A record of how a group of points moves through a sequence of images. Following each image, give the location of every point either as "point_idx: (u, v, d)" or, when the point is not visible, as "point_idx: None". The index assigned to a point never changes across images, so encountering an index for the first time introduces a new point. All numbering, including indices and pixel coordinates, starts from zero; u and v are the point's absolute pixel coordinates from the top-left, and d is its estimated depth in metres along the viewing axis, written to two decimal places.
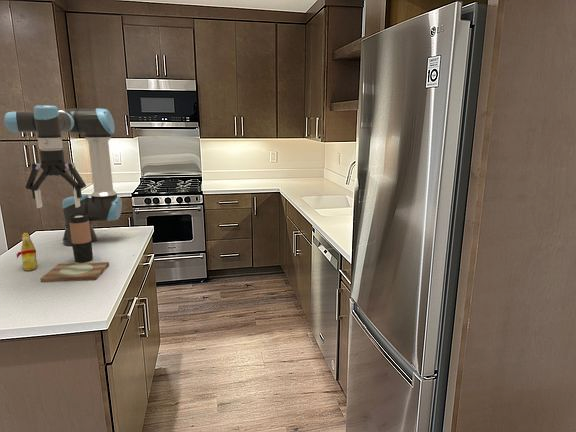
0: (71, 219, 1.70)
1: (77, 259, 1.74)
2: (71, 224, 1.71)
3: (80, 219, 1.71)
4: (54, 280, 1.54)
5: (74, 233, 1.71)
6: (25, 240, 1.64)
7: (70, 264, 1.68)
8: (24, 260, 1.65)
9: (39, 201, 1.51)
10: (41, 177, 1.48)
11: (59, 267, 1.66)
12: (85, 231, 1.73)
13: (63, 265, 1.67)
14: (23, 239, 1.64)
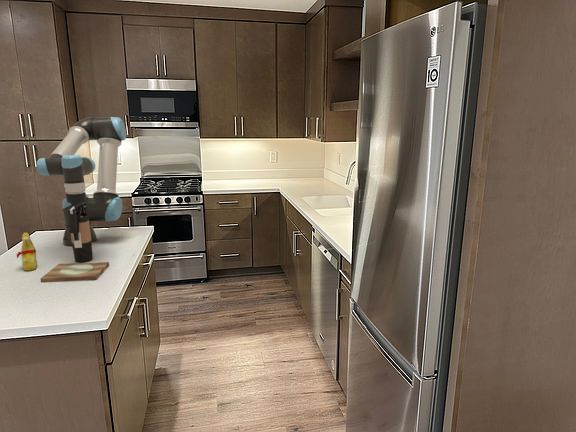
0: None
1: (77, 259, 1.74)
2: None
3: (80, 219, 1.71)
4: (54, 280, 1.54)
5: None
6: (25, 240, 1.64)
7: (70, 264, 1.68)
8: (24, 260, 1.65)
9: None
10: None
11: (59, 267, 1.66)
12: (85, 231, 1.73)
13: (63, 265, 1.67)
14: (23, 239, 1.64)
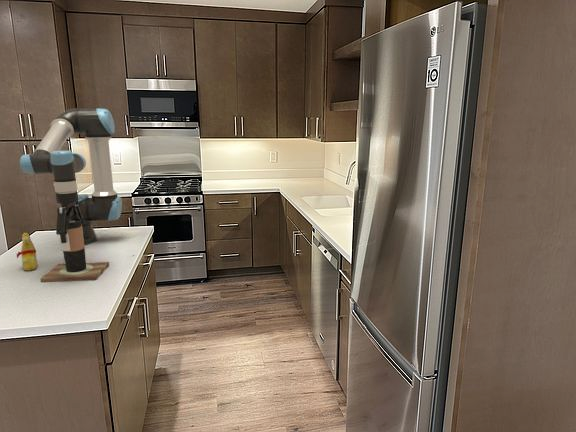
0: None
1: (69, 268, 1.59)
2: None
3: (72, 224, 1.55)
4: (54, 280, 1.54)
5: None
6: (25, 240, 1.64)
7: None
8: (24, 260, 1.65)
9: None
10: None
11: (59, 267, 1.66)
12: (78, 238, 1.57)
13: (63, 265, 1.67)
14: (23, 239, 1.64)
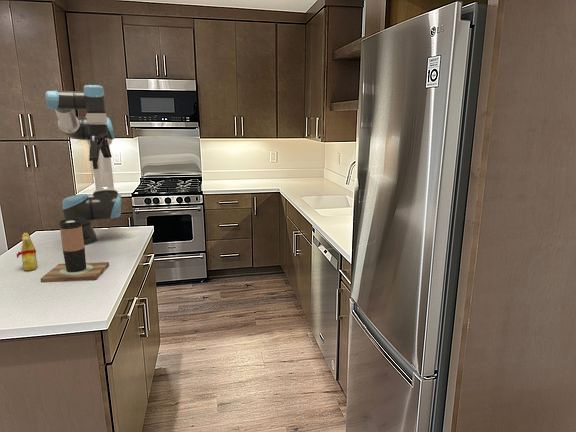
0: (62, 224, 1.55)
1: (69, 268, 1.59)
2: (62, 230, 1.55)
3: (72, 224, 1.55)
4: (54, 280, 1.54)
5: (65, 240, 1.56)
6: (25, 240, 1.64)
7: None
8: (24, 260, 1.65)
9: (106, 167, 1.81)
10: None
11: (59, 267, 1.66)
12: (78, 238, 1.58)
13: (63, 265, 1.67)
14: (23, 239, 1.64)
